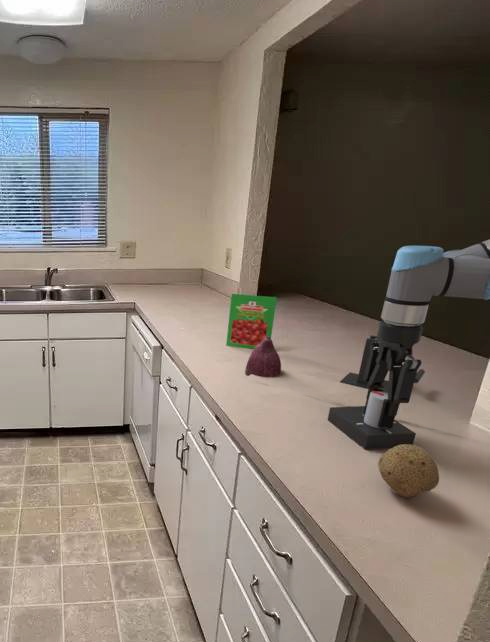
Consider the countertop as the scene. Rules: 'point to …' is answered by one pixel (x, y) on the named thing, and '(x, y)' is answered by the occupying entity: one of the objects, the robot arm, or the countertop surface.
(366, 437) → the timer panel
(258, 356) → the vegetable
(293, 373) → the countertop surface
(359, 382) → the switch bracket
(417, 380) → the switch lever
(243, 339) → the tomato puree packet
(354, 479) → the countertop surface
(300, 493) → the countertop surface
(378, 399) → the timer knob
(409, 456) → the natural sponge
